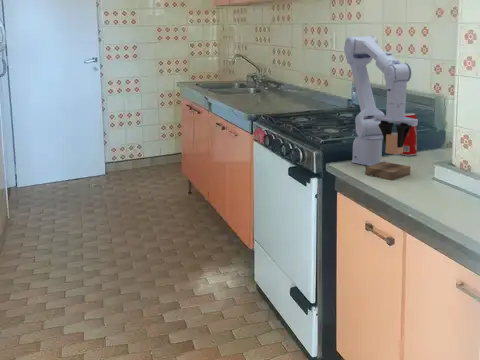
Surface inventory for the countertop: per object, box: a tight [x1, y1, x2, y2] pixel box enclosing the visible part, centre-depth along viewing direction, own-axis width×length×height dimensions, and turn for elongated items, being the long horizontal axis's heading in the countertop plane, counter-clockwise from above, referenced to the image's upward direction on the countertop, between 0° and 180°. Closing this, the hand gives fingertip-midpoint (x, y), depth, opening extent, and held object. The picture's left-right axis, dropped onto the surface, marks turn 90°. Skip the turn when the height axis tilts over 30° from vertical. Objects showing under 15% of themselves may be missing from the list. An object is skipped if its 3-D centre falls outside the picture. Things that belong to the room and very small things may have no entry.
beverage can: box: [400, 112, 418, 157], centre depth 206 cm, size 6×6×15 cm
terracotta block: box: [384, 132, 404, 156], centre depth 181 cm, size 4×4×6 cm
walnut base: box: [364, 161, 411, 181], centre depth 182 cm, size 10×10×2 cm
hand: (393, 146), depth 181 cm, fingers closed on terracotta block, 4 cm apart
